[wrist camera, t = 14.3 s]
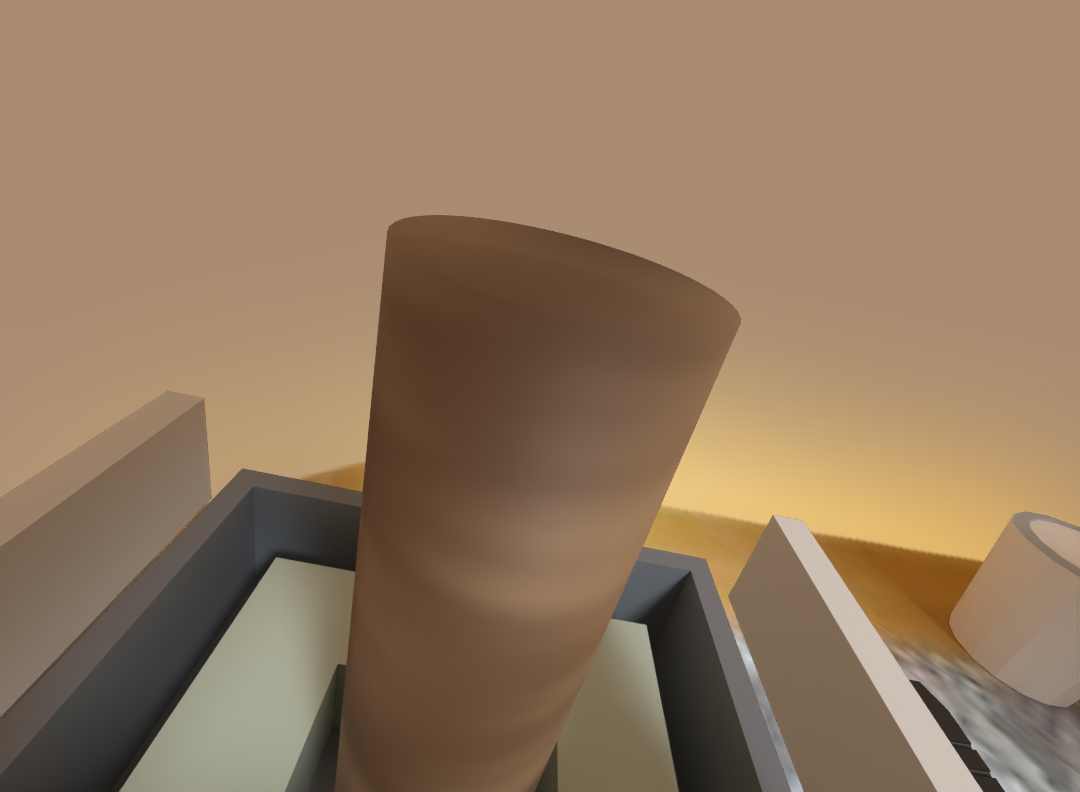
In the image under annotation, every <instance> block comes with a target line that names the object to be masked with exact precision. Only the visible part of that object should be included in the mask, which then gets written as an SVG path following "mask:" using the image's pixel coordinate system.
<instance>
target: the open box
mask: <svg viewBox="0 0 1080 792" xmlns="http://www.w3.org/2000/svg"><path fill="white" fill-rule="evenodd" d="M362 495H363V492H360V491H355V490H350V489H345V488H339V487H334V486H329V485H324V484H319V483H314V482H309V481H304V480H298V479H293V478H288V477H282V476H278V475H273V474H268V473H263V472H257V471H252V470H247V469H242V470H240V472H239V473H238V474H237V475H236V476H235V477H234V478H233V479H232V480H231V481H230V482H229V483H228V484H227V485H226V486H225V487H224V488H223V489H222V490H221V492H219V493H218V495H217V496H216V497H215V498H214V499H213V500H212V501H211V502H210V503H209V504H208V505H207V506H206V507H205V508H204V509H203V510H202V511H201V512H200V513H199V514H198V515H197V516H196V518H195V519H194V520H193V521H192V522H191V523H190V524H189V525H188V526H187V527H186V528H185V529H184V530H183V531H182V532H181V533H180V534H179V535H178V536H177V537H176V538H175V539H174V541H173V542H172V543H171V544H170V545H169V546H168V547H167V548H166V549H165V550H164V551H163V552H162V553H161V554H160V555H159V556H158V557H157V558H156V559H155V560H154V561H153V562H152V564H151V565H150V566H149V567H148V568H147V569H146V570H145V571H144V572H143V573H142V574H141V575H140V576H139V577H138V578H137V579H136V580H135V581H134V582H133V583H132V584H131V585H130V586H129V588H128V589H127V590H126V591H125V592H124V593H123V594H122V595H121V596H120V597H119V598H118V599H117V600H116V601H115V602H114V603H113V604H112V605H111V606H110V607H109V608H108V609H107V611H106V612H105V613H104V614H103V615H102V616H101V617H100V618H99V619H98V620H97V621H96V622H95V623H94V624H93V625H92V626H91V627H90V628H89V629H88V630H87V631H86V632H85V634H84V635H83V636H82V637H81V638H80V639H79V640H78V641H77V642H76V643H75V644H74V645H73V646H72V647H71V648H70V649H69V650H68V651H67V652H66V653H65V654H64V655H63V657H62V658H61V659H60V660H59V661H58V662H57V663H56V664H55V665H54V666H53V667H52V668H51V669H50V670H49V671H48V672H47V673H46V674H45V675H44V676H43V677H42V678H41V680H40V681H39V682H38V683H37V684H36V685H35V686H34V687H33V688H32V689H31V690H30V691H29V692H28V693H27V694H26V695H25V696H24V697H23V698H22V699H21V700H20V701H19V703H18V704H17V705H16V706H15V707H14V708H13V709H12V710H11V711H10V712H9V713H8V714H7V715H6V716H5V717H4V718H3V719H2V720H1V721H0V792H335V781H336V771H337V760H338V750H339V739H340V728H341V718H342V707H343V696H344V686H345V675H346V665H347V654H348V643H349V633H350V622H351V611H352V601H353V590H354V580H355V569H356V558H357V548H358V537H359V527H360V516H361V505H362ZM535 792H791V790H790V787H789V785H788V782H787V779H786V776H785V774H784V771H783V768H782V765H781V763H780V760H779V757H778V755H777V752H776V749H775V746H774V744H773V741H772V738H771V736H770V733H769V730H768V727H767V725H766V722H765V719H764V717H763V714H762V711H761V708H760V706H759V703H758V700H757V697H756V695H755V692H754V689H753V687H752V684H751V681H750V678H749V676H748V673H747V670H746V668H745V665H744V662H743V659H742V657H741V654H740V651H739V648H738V646H737V643H736V640H735V638H734V635H733V632H732V629H731V627H730V624H729V621H728V619H727V616H726V613H725V610H724V608H723V605H722V602H721V600H720V597H719V594H718V591H717V589H716V586H715V583H714V580H713V578H712V575H711V572H710V570H709V567H708V564H707V561H706V559H703V558H698V557H693V556H688V555H682V554H677V553H672V552H667V551H662V550H657V549H652V548H647V547H642V549H641V551H640V553H639V556H638V558H637V560H636V563H635V565H634V567H633V569H632V572H631V574H630V576H629V579H628V581H627V583H626V585H625V588H624V590H623V592H622V594H621V597H620V599H619V601H618V604H617V606H616V608H615V610H614V613H613V615H612V617H611V620H610V622H609V624H608V626H607V629H606V631H605V633H604V635H603V638H602V640H601V642H600V645H599V647H598V649H597V651H596V654H595V656H594V658H593V661H592V663H591V665H590V667H589V670H588V672H587V674H586V676H585V679H584V681H583V683H582V686H581V688H580V690H579V692H578V695H577V697H576V699H575V702H574V704H573V706H572V708H571V711H570V713H569V715H568V717H567V720H566V722H565V724H564V727H563V729H562V731H561V733H560V736H559V738H558V740H557V742H556V745H555V747H554V749H553V752H552V754H551V756H550V758H549V761H548V763H547V765H546V768H545V770H544V772H543V774H542V777H541V779H540V781H539V783H538V786H537V788H536V790H535Z"/></svg>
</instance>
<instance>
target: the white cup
mask: <svg viewBox="0 0 1080 792" xmlns="http://www.w3.org/2000/svg"><path fill="white" fill-rule="evenodd" d="M949 625H950V627H951V630H952V632H953V634H954V636H955V638H956V640H957V641H958V642H959V643H960V644H961V645H962V647H963V648H964V649H965V650H966V651H967V652H968V654H969V655H970V656H971V657H972V658H973V659H974V660H975V661H977V662H978V663H979V664H980V665H981V666H982V667H984V668H985V669H986V670H987V671H988V672H990V673H991V674H992V675H993V676H994V677H996V678H997V679H999V680H1000V681H1002V682H1004V683H1005V684H1007V685H1008V686H1010V687H1011V688H1013V689H1015V690H1016V691H1018V692H1019V693H1021V694H1023V695H1025V696H1028V697H1030V698H1032V699H1034V700H1037V701H1039V702H1041V703H1044V704H1046V705H1051V706H1058V707H1064V708H1067V707H1069V706H1070V705H1072V704H1073V703H1075V702H1077V701H1078V700H1080V527H1077V526H1075V525H1072V524H1069V523H1067V522H1064V521H1060V520H1058V519H1055V518H1052V517H1050V516H1046V515H1041V514H1036V513H1031V512H1021V513H1016V514H1014V515H1013V516H1012V518H1011V519H1010V521H1009V523H1008V524H1007V526H1006V527H1005V529H1004V531H1003V532H1002V534H1001V535H1000V537H999V538H998V540H997V542H996V543H995V545H994V546H993V548H992V549H991V551H990V553H989V554H988V556H987V557H986V559H985V560H984V562H983V564H982V565H981V567H980V568H979V570H978V572H977V573H976V575H975V576H974V578H973V579H972V581H971V583H970V584H969V586H968V587H967V589H966V590H965V592H964V594H963V595H962V597H961V598H960V600H959V602H958V603H957V605H956V606H955V608H954V609H953V611H952V613H951V615H950V620H949Z"/></svg>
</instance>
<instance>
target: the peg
mask: <svg viewBox="0 0 1080 792" xmlns="http://www.w3.org/2000/svg"><path fill="white" fill-rule="evenodd" d="M740 323H741V318H740V316H739V313H738V311H737V310H736V309H735V308H734V307H733V305H731V304H730V303H729V302H728V301H727V300H726V299H725V298H723V297H722V296H720V295H719V294H717V293H716V292H714V291H712V290H711V289H709V288H708V287H706V286H704V285H703V284H700V283H699V282H697V281H695V280H693V279H691V278H689V277H687V276H684V275H683V274H680V273H678V272H676V271H674V270H671V269H669V268H667V267H664V266H662V265H660V264H657V263H654V262H652V261H649V260H647V259H644V258H641V257H638V256H636V255H633V254H630V253H627V252H624V251H621V250H618V249H615V248H612V247H609V246H605V245H602V244H599V243H596V242H592V241H588V240H585V239H581V238H578V237H574V236H570V235H566V234H562V233H558V232H554V231H550V230H545V229H540V228H536V227H531V226H526V225H521V224H515V223H509V222H503V221H497V220H490V219H483V218H474V217H464V216H446V215H445V216H444V215H430V216H417V217H410V218H405V219H401V220H399V221H396V222H394V223H393V224H392V225H390V226H389V229H388V231H387V240H386V251H385V262H384V273H383V282H382V294H381V304H380V314H379V325H378V336H377V346H376V357H375V367H374V378H373V389H372V400H371V410H370V420H369V431H368V442H367V452H366V463H365V473H364V484H363V495H362V505H361V516H360V527H359V537H358V548H357V558H356V569H355V580H354V590H353V601H352V611H351V622H350V633H349V643H348V654H347V665H346V675H345V686H344V696H343V707H342V718H341V728H340V739H339V750H338V760H337V771H336V781H335V792H535V790H536V788H537V786H538V783H539V781H540V779H541V777H542V774H543V772H544V770H545V768H546V765H547V763H548V761H549V758H550V756H551V754H552V752H553V749H554V747H555V745H556V742H557V740H558V738H559V736H560V733H561V731H562V729H563V727H564V724H565V722H566V720H567V717H568V715H569V713H570V711H571V708H572V706H573V704H574V702H575V699H576V697H577V695H578V692H579V690H580V688H581V686H582V683H583V681H584V679H585V676H586V674H587V672H588V670H589V667H590V665H591V663H592V661H593V658H594V656H595V654H596V651H597V649H598V647H599V645H600V642H601V640H602V638H603V635H604V633H605V631H606V629H607V626H608V624H609V622H610V620H611V617H612V615H613V613H614V610H615V608H616V606H617V604H618V601H619V599H620V597H621V594H622V592H623V590H624V588H625V585H626V583H627V581H628V579H629V576H630V574H631V572H632V569H633V567H634V565H635V563H636V560H637V558H638V556H639V553H640V551H641V549H642V547H643V544H644V542H645V540H646V538H647V535H648V533H649V531H650V528H651V526H652V524H653V522H654V519H655V517H656V515H657V512H658V510H659V508H660V506H661V503H662V501H663V499H664V496H665V494H666V492H667V490H668V487H669V485H670V483H671V481H672V478H673V476H674V474H675V472H676V469H677V467H678V465H679V462H680V460H681V458H682V456H683V453H684V451H685V449H686V446H687V444H688V442H689V439H690V437H691V435H692V433H693V431H694V428H695V426H696V424H697V421H698V419H699V417H700V414H701V412H702V410H703V408H704V405H705V403H706V401H707V399H708V396H709V394H710V392H711V390H712V387H713V385H714V382H715V380H716V378H717V376H718V373H719V371H720V369H721V367H722V364H723V362H724V360H725V358H726V355H727V353H728V351H729V348H730V346H731V344H732V342H733V339H734V337H735V335H736V332H737V330H738V328H739V326H740Z"/></svg>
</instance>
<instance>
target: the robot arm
mask: <svg viewBox="0 0 1080 792" xmlns="http://www.w3.org/2000/svg"><path fill="white" fill-rule="evenodd" d="M210 499H211V485H210V471H209V457H208V445H207V430H206V417H205V404H204V398H201V397H196V396H191V395H186V394H181V393H176V392H171V391H166V392H165V393H163V394H162V395H160V396H159V397H157V398H155V399H154V400H152V401H151V402H150V403H148V404H146V405H145V406H143V407H141V408H140V409H138V410H137V411H135V412H134V413H132V414H130V415H129V416H128V417H126V418H124V419H123V420H121V421H120V422H118V423H116V424H115V425H114V426H112V427H110V428H109V429H107V430H106V431H104V432H102V433H101V434H99V435H98V436H96V437H95V438H93V439H92V440H90V441H88V442H87V443H85V444H84V445H82V446H81V447H79V448H77V449H76V450H74V451H73V452H71V453H70V454H68V455H66V456H65V457H63V458H62V459H60V460H59V461H57V462H56V463H54V464H52V465H51V466H49V467H48V468H46V469H45V470H43V471H41V472H40V473H38V474H37V475H35V476H34V477H32V478H31V479H29V480H27V481H26V482H24V483H23V484H21V485H20V486H18V487H16V488H15V489H14V490H12V491H10V492H9V493H7V494H6V495H4V496H2V497H1V498H0V717H1V716H2V715H3V714H4V713H5V712H6V711H7V710H8V709H9V708H10V707H11V705H12V704H13V703H14V702H15V701H16V700H17V699H18V698H19V697H20V696H21V695H22V694H23V693H24V692H25V691H26V690H27V689H28V688H29V687H30V686H31V685H32V684H33V683H34V682H35V681H36V680H37V679H38V677H39V676H40V675H41V674H42V673H43V672H44V671H45V670H46V669H47V668H48V667H49V666H50V665H51V664H52V663H53V662H54V661H55V660H56V659H57V658H58V657H59V656H60V655H61V654H62V653H63V652H64V651H65V649H66V648H67V647H68V646H69V645H70V644H71V643H72V642H73V641H74V640H75V639H76V638H77V637H78V636H79V635H80V634H81V633H82V632H83V631H84V630H85V629H86V628H87V627H88V626H89V625H90V624H91V623H92V621H93V620H94V619H95V618H96V617H97V616H98V615H99V614H100V613H101V612H102V611H103V610H104V609H105V608H106V607H107V606H108V605H109V604H110V603H111V602H112V601H113V600H114V599H115V598H116V597H117V596H118V595H119V593H120V592H121V591H122V590H123V589H124V588H125V587H126V586H127V585H128V584H129V583H130V582H131V581H132V580H133V579H134V578H135V577H136V576H137V575H138V574H139V573H140V572H141V571H142V570H143V569H144V568H145V567H146V565H147V564H148V563H149V562H150V561H151V560H152V559H153V558H154V557H155V556H156V555H157V554H158V553H159V552H160V551H161V550H162V549H163V548H164V547H165V546H166V545H167V544H168V543H169V542H170V541H171V540H172V539H173V537H174V536H175V535H176V534H177V533H178V532H179V531H180V530H181V529H182V528H183V527H184V526H185V525H186V524H187V523H188V522H189V521H190V520H191V519H192V518H193V517H194V516H195V515H196V514H197V513H198V512H199V510H200V509H201V508H202V507H203V506H204V505H205V504H206V503H207V502H208V501H209V500H210ZM728 597H729V599H730V602H731V605H732V607H733V610H734V612H735V615H736V618H737V620H738V623H739V625H740V628H741V630H742V633H743V636H744V638H745V641H746V643H747V646H748V648H749V651H750V654H751V656H752V659H753V661H754V664H755V667H756V669H757V672H758V674H759V677H760V679H761V682H762V685H763V687H764V690H765V692H766V695H767V698H768V700H769V703H770V705H771V708H772V710H773V713H774V716H775V718H776V721H777V723H778V726H779V728H780V731H781V734H782V736H783V739H784V741H785V744H786V747H787V749H788V752H789V754H790V757H791V759H792V762H793V765H794V767H795V770H796V772H797V775H798V778H799V780H800V783H801V785H802V788H803V790H804V792H1005V791H1004V790H1003V788H1002V787H1001V785H1000V784H999V783H998V781H997V780H996V778H992V777H991V775H990V770H989V768H988V767H987V765H986V764H985V762H984V761H983V760H982V758H981V757H980V755H979V754H978V752H977V751H976V750H973V749H972V748H971V742H970V741H969V739H968V738H967V737H966V735H965V734H964V732H963V731H962V729H961V728H960V727H959V725H958V724H957V722H956V721H955V719H954V718H953V717H952V715H951V714H950V712H949V711H948V710H947V709H946V708H945V707H944V706H943V705H942V704H941V703H940V702H939V701H938V700H937V699H936V698H935V697H934V696H933V695H932V694H931V693H930V692H929V691H928V690H927V689H926V688H925V687H924V686H923V685H922V684H921V683H920V682H919V681H913V680H909V679H908V678H907V676H906V675H905V673H904V672H903V670H902V669H901V667H900V666H899V664H898V663H897V661H896V660H895V658H894V657H893V655H892V654H891V652H890V651H889V649H888V648H887V646H886V645H885V643H884V642H883V640H882V639H881V637H880V636H879V634H878V633H877V631H876V630H875V628H874V627H873V625H872V624H871V622H870V621H869V619H868V618H867V616H866V615H865V613H864V612H863V610H862V609H861V607H860V606H859V604H858V603H857V601H856V600H855V598H854V597H853V595H852V594H851V592H850V591H849V589H848V588H847V586H846V585H845V583H844V582H843V580H842V579H841V577H840V575H839V574H838V572H837V571H836V569H835V568H834V566H833V565H832V563H831V562H830V560H829V559H828V557H827V556H826V554H825V553H824V551H823V550H822V548H821V547H820V545H819V544H818V542H817V541H816V539H815V538H814V536H813V535H812V533H811V532H810V530H809V529H808V528H807V526H806V524H805V523H804V521H801V520H796V519H791V518H786V517H782V516H776V515H773V516H772V518H771V520H770V521H769V523H768V525H767V527H766V529H765V530H764V532H763V534H762V536H761V538H760V539H759V541H758V543H757V545H756V547H755V549H754V550H753V552H752V554H751V556H750V558H749V559H748V561H747V563H746V565H745V567H744V568H743V570H742V572H741V574H740V576H739V578H738V579H737V581H736V583H735V585H734V587H733V588H732V590H731V592H730V594H729V596H728Z"/></svg>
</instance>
